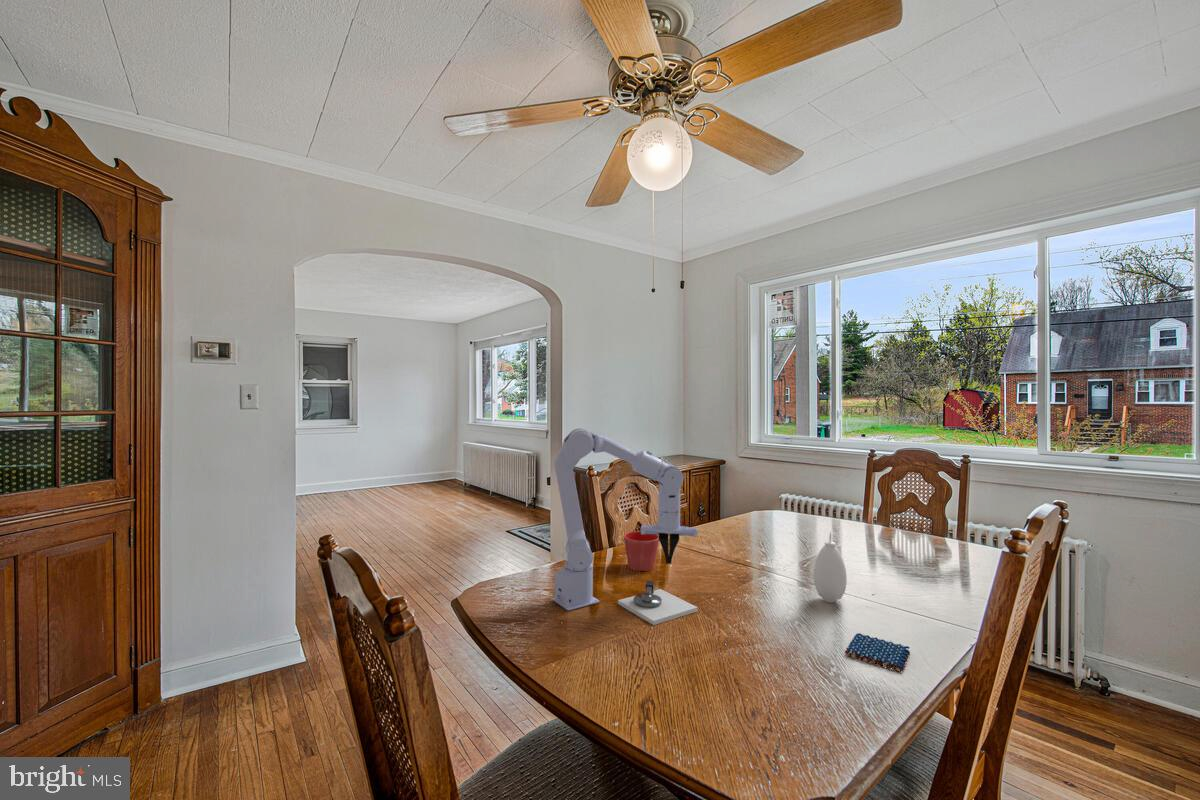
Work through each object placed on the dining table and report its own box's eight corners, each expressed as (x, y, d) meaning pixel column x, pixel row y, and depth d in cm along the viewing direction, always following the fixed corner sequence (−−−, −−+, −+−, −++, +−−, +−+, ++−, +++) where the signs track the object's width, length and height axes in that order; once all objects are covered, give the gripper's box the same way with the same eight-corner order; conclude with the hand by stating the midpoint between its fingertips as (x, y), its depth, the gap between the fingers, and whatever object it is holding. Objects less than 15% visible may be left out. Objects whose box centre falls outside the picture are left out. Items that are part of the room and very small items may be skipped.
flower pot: (647, 575, 149) (647, 542, 148) (616, 567, 155) (617, 536, 155) (665, 566, 157) (665, 535, 157) (635, 559, 164) (636, 529, 164)
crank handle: (660, 608, 122) (660, 598, 122) (631, 605, 124) (631, 596, 124) (663, 590, 133) (663, 581, 133) (637, 588, 135) (637, 579, 135)
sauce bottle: (850, 608, 126) (850, 537, 126) (816, 606, 128) (817, 535, 128) (841, 596, 134) (842, 529, 134) (810, 594, 135) (811, 527, 135)
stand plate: (653, 625, 116) (653, 620, 116) (618, 604, 128) (618, 599, 128) (697, 611, 124) (697, 606, 124) (660, 592, 136) (660, 588, 136)
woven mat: (854, 639, 111) (854, 630, 111) (910, 655, 105) (910, 645, 105) (842, 658, 103) (842, 648, 103) (902, 676, 97) (902, 665, 97)
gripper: (696, 508, 135) (696, 559, 135) (642, 506, 137) (641, 556, 137) (698, 514, 128) (697, 567, 128) (640, 512, 130) (640, 564, 130)
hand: (668, 562), depth 132 cm, fingers closed
